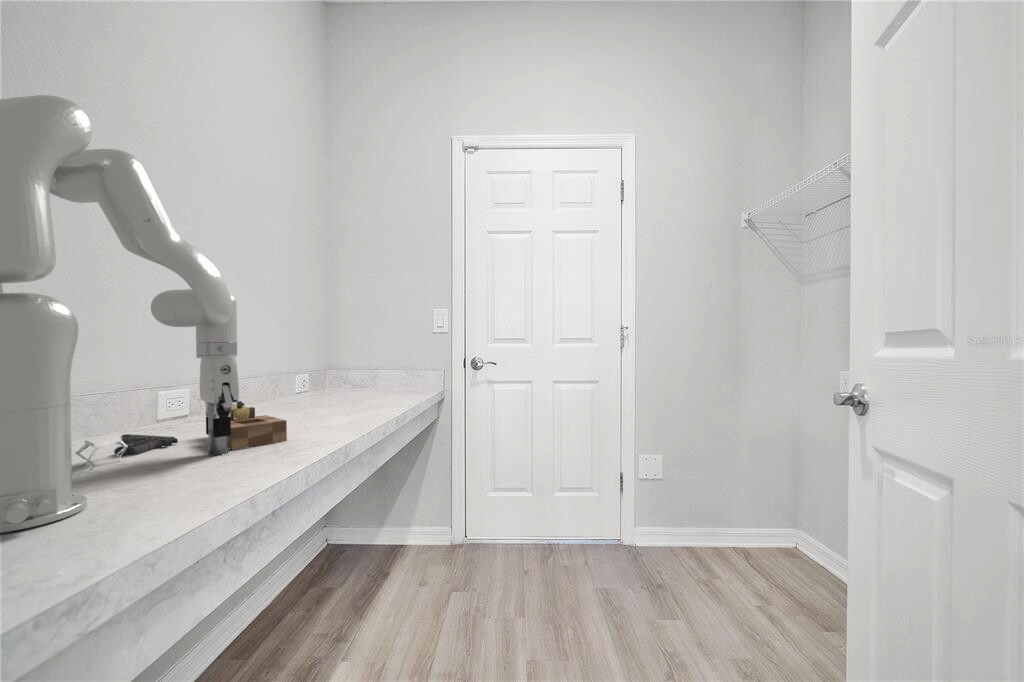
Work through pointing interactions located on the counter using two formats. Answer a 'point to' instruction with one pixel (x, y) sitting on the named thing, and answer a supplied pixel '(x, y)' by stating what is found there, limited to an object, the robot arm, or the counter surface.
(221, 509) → the counter surface
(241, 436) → the dock
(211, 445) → the peg
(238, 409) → the bar
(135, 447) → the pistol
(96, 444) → the white folding stand
